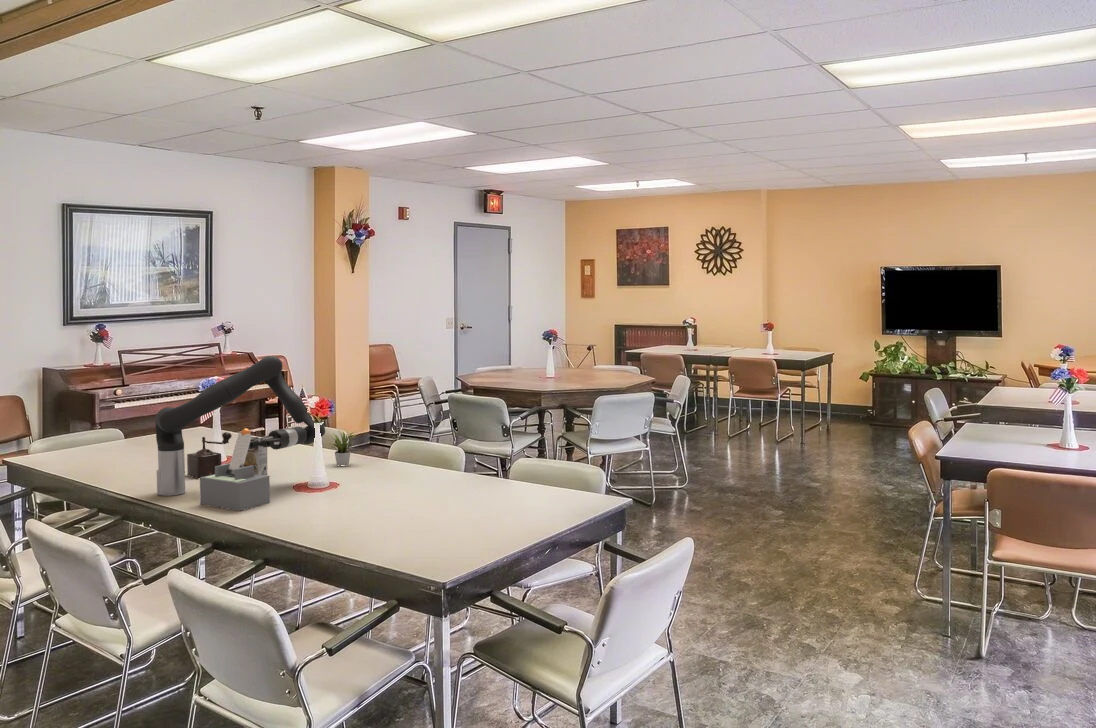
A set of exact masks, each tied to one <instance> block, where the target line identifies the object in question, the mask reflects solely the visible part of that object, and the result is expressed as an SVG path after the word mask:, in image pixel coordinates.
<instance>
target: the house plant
mask: <svg viewBox="0 0 1096 728" xmlns="http://www.w3.org/2000/svg"><path fill="white" fill-rule="evenodd" d="M356 432H357V431H353V432H351V433H347V434H346V433H345V432H344V431H342V432H341V431H338V433H339V435H340V436H341V440H340V438H339V436H337V435H336V434H335V433H332V434H333V436H334V437H335V439H334V437H332V436H331V435H330V436H329V437H331V438H332V439H333V440H334V443H332V442H331V443H330V445H332V446H333V449H336V451H334V456H335V462H336V466H337V465H339V466H338V467H340V466H341V465H348V464H349V465H350V460H351V459H350V458H351V451H350V450H348V449H349V448H350V447H351V448H354V447H355V444H353V443H354V442H355V440H354V441H351V440H352V439H353V438H354V437H355V436H357V435H358V433H356ZM354 433H356V434H354ZM329 448H331V446H329ZM349 465H348V466H349Z"/></svg>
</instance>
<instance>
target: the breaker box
mask: <svg viewBox="0 0 1096 728" xmlns="http://www.w3.org/2000/svg"><path fill="white" fill-rule="evenodd" d="M229 466H230V462H229V463H225V464H221V465H219V466H215V474H214V475H209V476H205V477H201V478H200V479H199V490H200V491H199V498H200V500H199V501H200V505H201V504H203V505H202V506H206V505H210V506H209V507H212V506H216V507H215V508H218V507H223V508H222V509H224V508H229V509H228V510H230V509H234V510H233V511H236V510H243V511H245V510H244V509H246V510H248V509H247V508H250V509H252V508H251V507H253V508H256V507H255V506H257V507H259V506H258V505H260V506H263V505H266V504H265V503H267V504H270V503H271V492H270V491H271V490H270V488H271V487H270V475H259V474H254V465H251V466H246V467H242V468H238V469H235V476H232V475H227V474H226V471H227V469H229ZM269 502H270V503H269ZM262 504H263V505H262Z"/></svg>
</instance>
